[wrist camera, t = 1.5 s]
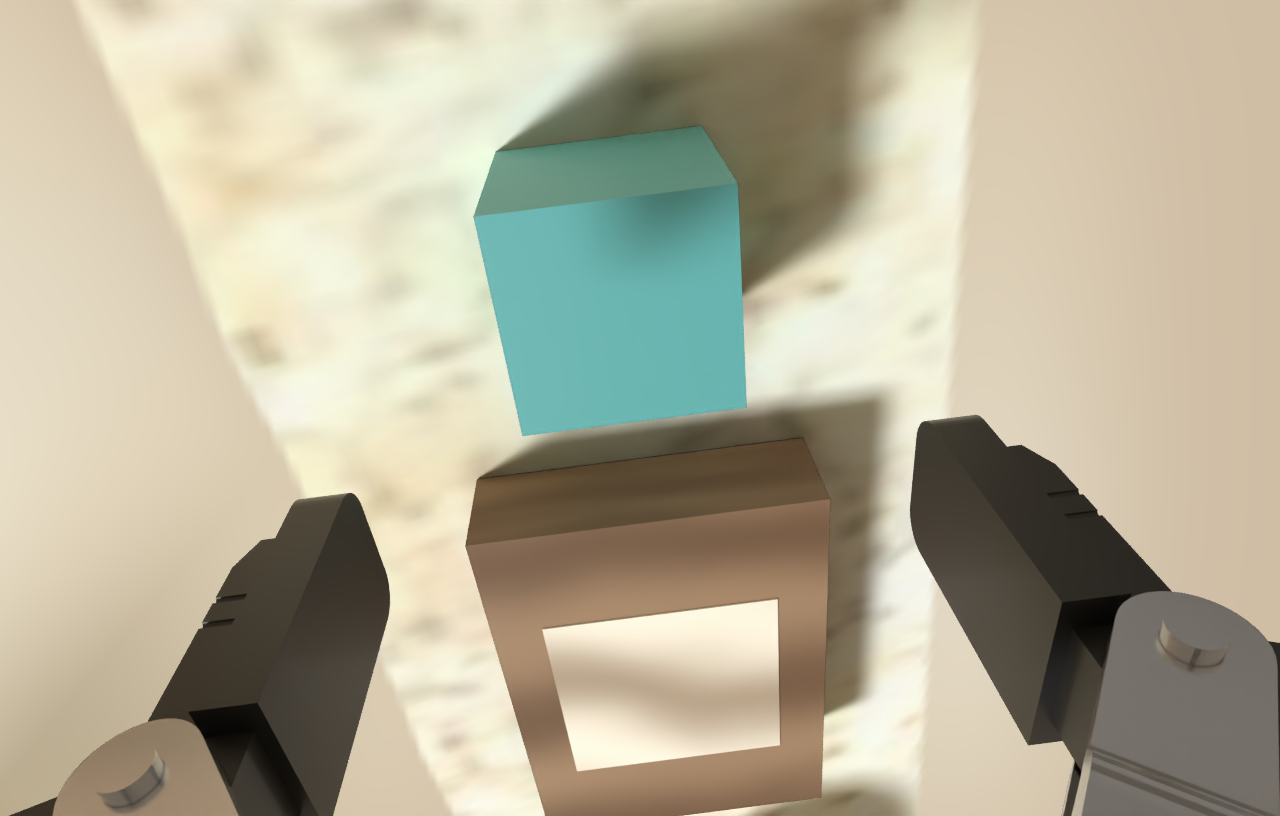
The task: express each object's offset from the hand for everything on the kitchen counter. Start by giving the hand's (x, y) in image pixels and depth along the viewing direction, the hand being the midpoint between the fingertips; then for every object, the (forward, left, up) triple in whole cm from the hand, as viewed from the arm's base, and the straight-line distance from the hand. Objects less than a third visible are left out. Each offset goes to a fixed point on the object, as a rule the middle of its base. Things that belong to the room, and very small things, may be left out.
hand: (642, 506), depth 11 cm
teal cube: (0, 0, -11) cm, 11 cm away
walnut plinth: (+14, 0, -11) cm, 17 cm away
